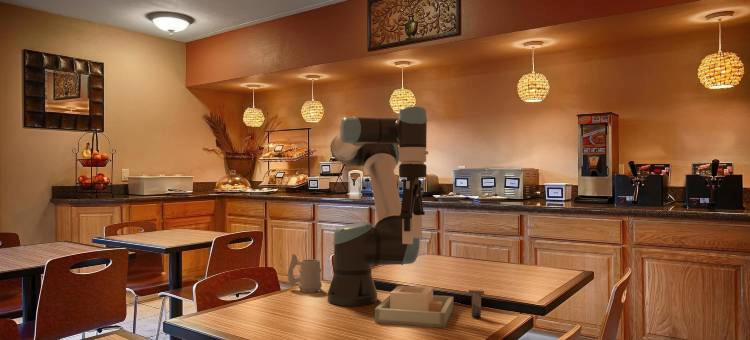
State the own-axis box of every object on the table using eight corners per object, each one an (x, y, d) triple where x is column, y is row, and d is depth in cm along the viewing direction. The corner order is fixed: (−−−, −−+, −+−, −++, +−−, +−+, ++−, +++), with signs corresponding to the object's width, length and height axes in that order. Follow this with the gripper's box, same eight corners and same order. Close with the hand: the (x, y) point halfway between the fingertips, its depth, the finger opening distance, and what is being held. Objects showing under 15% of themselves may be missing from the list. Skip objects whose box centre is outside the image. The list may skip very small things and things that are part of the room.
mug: (318, 293, 170) (318, 256, 170) (283, 291, 172) (283, 255, 172) (324, 288, 178) (324, 253, 178) (291, 287, 180) (291, 252, 180)
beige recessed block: (390, 315, 139) (390, 292, 140) (398, 306, 149) (398, 285, 149) (438, 318, 136) (438, 295, 136) (443, 309, 146) (443, 287, 146)
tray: (374, 322, 135) (374, 308, 135) (392, 304, 155) (392, 292, 155) (444, 327, 131) (444, 313, 131) (453, 308, 150) (453, 296, 150)
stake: (468, 318, 140) (468, 291, 140) (469, 315, 142) (469, 289, 142) (483, 319, 139) (483, 292, 139) (484, 316, 141) (484, 290, 141)
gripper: (418, 162, 131) (417, 247, 130) (433, 164, 155) (433, 236, 154) (388, 162, 133) (388, 246, 132) (408, 164, 157) (408, 235, 156)
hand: (412, 240), depth 143 cm, fingers open, 13 cm apart
